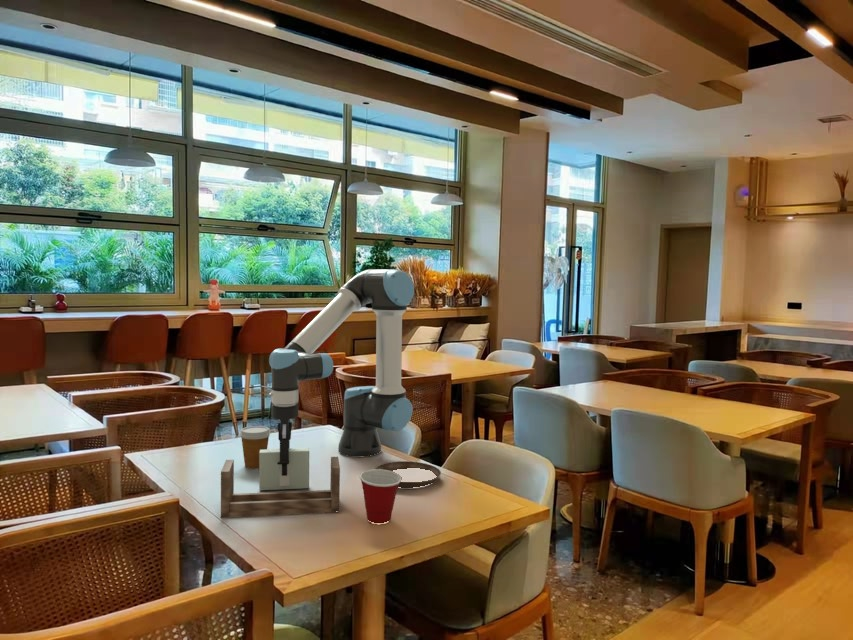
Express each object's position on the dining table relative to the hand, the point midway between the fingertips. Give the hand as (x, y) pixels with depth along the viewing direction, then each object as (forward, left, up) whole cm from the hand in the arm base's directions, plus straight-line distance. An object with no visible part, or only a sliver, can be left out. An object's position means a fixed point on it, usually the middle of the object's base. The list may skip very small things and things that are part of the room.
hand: (284, 483), depth 177 cm
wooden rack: (0, +14, -2) cm, 14 cm away
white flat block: (0, 0, -1) cm, 1 cm away
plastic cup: (-25, +26, -2) cm, 36 cm away
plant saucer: (-37, -4, -2) cm, 37 cm away
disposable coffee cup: (+10, -23, -2) cm, 25 cm away
